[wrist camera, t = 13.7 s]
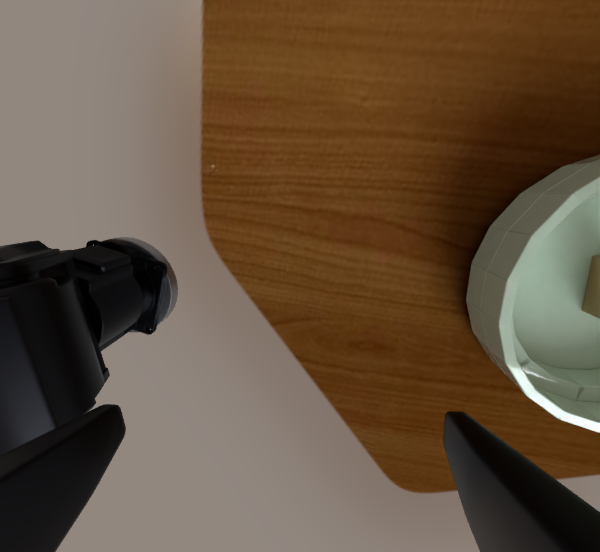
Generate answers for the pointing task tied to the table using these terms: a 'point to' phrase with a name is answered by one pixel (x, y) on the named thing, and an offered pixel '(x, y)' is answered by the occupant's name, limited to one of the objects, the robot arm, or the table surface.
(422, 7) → the table surface
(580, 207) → the bowl
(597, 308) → the wooden muddler
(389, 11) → the table surface
